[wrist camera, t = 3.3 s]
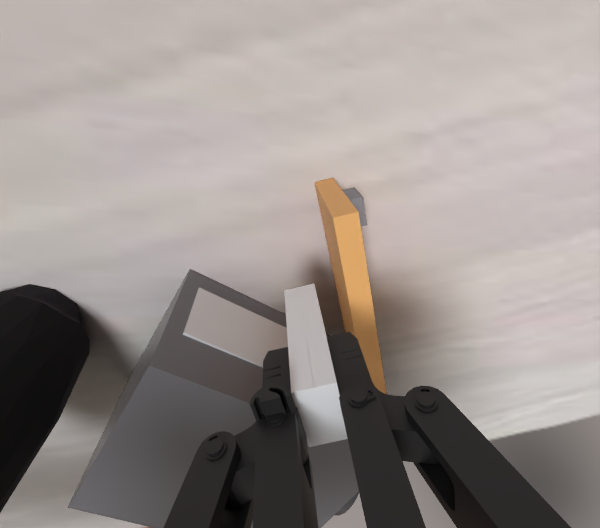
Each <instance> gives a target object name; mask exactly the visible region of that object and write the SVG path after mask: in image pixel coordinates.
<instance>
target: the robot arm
mask: <svg viewBox="0 0 600 528" xmlns="http://www.w3.org/2000/svg"><path fill="white" fill-rule="evenodd" d="M284 295H285V309H286V324H287V338H288V347H284V348H280V349H276V350H271V351H268V352H267V354H266V356H265V358H264V360H263V383H262V388H261V389H260V390H258V391H257V392H256V393H255V394H254V395H253V397H252V398H251V402H250V406H251V409H252V411H253V414H254V416H255V419H256V422H255V423H254V424H253V425H252V426H251V427H249V428H248V429H246V430H244V431H242V432H241V433H239V434H237V435H235V436H233V435H232V434H231V433H230V432H225V431H221V432H216V433H214V434H212V435H210V436H208V437H207V438H206V439H205V440H204V441H203V442H202V443H201V445H200V446H199V448H198V450H197V452H196V454H195V456H194V459H193V461H192V463H191V466H190V468H189V470H188V472H187V475H186V477H185V479H184V482H183V484H182V486H181V489H180V491H179V493H178V495H177V498H176V500H175V502H174V505H173V507H172V509H171V511H170V514H169V516H168V518H167V521H166V523H165V525H164V527H163V528H251V524H252V520H253V528H318V519H317V510H316V501H315V492H314V483H313V475H312V466H311V460H310V457H309V454H308V447H307V443H308V446H309V447H313V446H317V445H322V444H326V443H331V442H336V441H340V440H345V439H348V443H349V447H350V452H351V456H352V461H353V466H354V470H355V475H356V479H357V484H358V489H359V493H360V498H361V502H362V507H363V511H364V516H365V521H366V525H367V528H426V527H425V525H424V522H423V518H422V516H421V513H420V510H419V507H418V504H417V501H416V499H415V496H414V493H413V490H412V487H411V484H410V482H409V479H408V476H407V473H406V470H405V467H404V465H403V462H402V461H409V462H414V464H415V466H416V467H417V469H418V470H419V472H420V473H421V475H422V476H423V478H424V479H425V481H426V482H427V484H428V485H429V487H430V488H431V490H432V491H433V493H434V494H435V495H436V497H437V499H438V500H439V502H440V503H441V505H442V506H443V507H444V509H445V510H446V512H447V513H448V515H449V516H450V518H451V519H452V521H453V522H454V524H455V525H456V527H457V528H571V527H570V526H569V525H568V524H567V523H566V522H565V521H564V520H563V519H562V518H561V517H560V515H559V514H558V513H557V512H556V511H555V510H554V509H553V508H552V507H551V506H550V505H549V504H548V503H547V502H546V501H545V500H544V499H543V498H542V497H541V496H540V494H539V493H538V492H537V491H536V490H535V489H534V488H533V487H532V486H531V485H530V484H529V483H528V482H527V481H526V480H525V479H524V478H523V477H522V475H521V474H520V473H519V472H518V471H517V470H516V469H515V468H514V467H513V466H512V465H511V464H510V463H509V462H508V461H507V460H506V459H505V458H504V457H503V455H502V454H501V453H500V452H499V451H498V450H497V449H496V448H495V447H494V446H493V445H492V444H491V443H490V442H489V441H488V440H487V439H486V438H485V436H484V435H483V434H482V433H481V432H480V431H479V430H478V429H477V428H476V427H475V426H474V425H473V424H472V423H471V422H470V421H469V420H468V419H467V418H466V416H465V415H464V414H463V413H462V412H461V411H460V410H459V409H458V408H457V407H456V406H455V405H454V404H453V403H452V402H451V401H450V400H449V399H448V398H447V396H446V395H445V394H443V393H442V392H441V391H439V390H438V389H436V388H433V387H430V386H419V387H415V388H413V389H411V390H410V391H409V392H408V393H407V394H406V396H392V395H387V394H385V393H382V392H381V391H379V390H378V389H377V388H376V387H375V386H374V384H373V382H372V379H371V376H370V374H369V371H368V368H367V365H366V362H365V359H364V356H363V354H362V351H361V348H360V345H359V342H358V339H357V338H356V337H355V336H354V335H353V334H352V333H350V332H347V333H342V334H338V335H333V336H329V337H327V336H326V331H325V327H324V323H323V318H322V314H321V310H320V306H319V302H318V297H317V293H316V289H315V285H314V283H313V284H309V285H305V286H301V287H296V288H292V289H288V290H284Z"/></svg>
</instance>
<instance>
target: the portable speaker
mask: <svg viewBox="0 0 600 528" xmlns="http://www.w3.org/2000/svg"><path fill="white" fill-rule="evenodd" d="M88 354H89V339H88V337H87V335H86V332H85V329H84V326H83V323H82V320H81V317H80V313H79V310H78V307H77V304H76V303H74V302H73V301H71V300H70V299H68V298H66V297H65V296H63V295H62V294H60V293H58V292H57V291H55V290H52V289H47V288H42V287H37V286H32V285H25V286H22V287H18V288H15V289H11V290H7V291H3V292H0V512H1V511H2V509H3V507H4V506H5V504H6V503H7V501H8V499H9V498H10V496H11V495H12V493H13V491H14V490H15V488H16V487H17V485H18V483H19V482H20V480H21V479H22V477H23V475H24V474H25V472H26V471H27V469H28V467H29V466H30V464H31V463H32V461H33V460H34V458H35V456H36V455H37V453H38V452H39V450H40V448H41V447H42V445H43V444H44V442H45V440H46V439H47V437H48V436H49V434H50V432H51V431H52V429H53V428H54V426H55V424H56V423H57V421H58V420H59V418H60V416H61V414H62V411H63V409H64V407H65V405H66V403H67V400H68V398H69V396H70V394H71V392H72V389H73V387H74V385H75V383H76V381H77V378H78V376H79V374H80V372H81V370H82V367H83V365H84V363H85V361H86V359H87V356H88Z"/></svg>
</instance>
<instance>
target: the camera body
mask: <svg viewBox="0 0 600 528" xmlns="http://www.w3.org/2000/svg"><path fill="white" fill-rule="evenodd" d="M326 336H327V337H329V335H327V334H326ZM284 347H288V338H287V324H286V315H285V314H283V313H281V312H279V311H277V310H275V309H273V308H271V307H269V306H266V305H264V304H262V303H260V302H258V301H256V300H254V299H252V298H250V297H248V296H245V295H243V294H241V293H239V292H237V291H235V290H233V289H231V288H229V287H226V286H224V285H222V284H220V283H218V282H216V281H214V280H212V279H210V278H208V277H205V276H203V275H201V274H199V273H197V272H195V271H193V270H191V269H190V270H189V272H188V274H187V275H186V277H185V279H184V281H183V283H182V284H181V286H180V288H179V290H178V292H177V293H176V295H175V297H174V299H173V301H172V302H171V304H170V306H169V308H168V310H167V311H166V313H165V315H164V317H163V319H162V320H161V322H160V324H159V326H158V328H157V329H156V331H155V333H154V335H153V336H152V338H151V340H150V342H149V344H148V345H147V347H146V349H145V351H144V353H143V354H142V356H141V358H140V360H139V362H138V363H137V365H136V367H135V369H134V371H133V372H132V374H131V376H130V378H129V380H128V381H127V384H126V386H125V388H124V390H123V392H122V394H121V396H120V398H119V400H118V403H117V405H116V407H115V409H114V411H113V413H112V415H111V417H110V419H109V421H108V424H107V426H106V428H105V430H104V432H103V434H102V436H101V438H100V440H99V443H98V445H97V447H96V449H95V451H94V453H93V455H92V457H91V459H90V462H89V464H88V466H87V468H86V470H85V472H84V474H83V476H82V478H81V481H80V483H79V485H78V487H77V489H76V491H75V493H74V495H73V497H72V500H71V502H70V504H69V506H68V508H73V509H77V510H81V511H85V512H89V513H94V514H98V515H102V516H106V517H111V518H115V519H119V520H123V521H128V522H132V523H136V524H140V525H145V526H149V527H153V528H163V527H164V525H165V523H166V521H167V518H168V516H169V514H170V511H171V509H172V507H173V505H174V502H175V500H176V498H177V495H178V493H179V491H180V489H181V486H182V484H183V482H184V479H185V477H186V475H187V472H188V470H189V468H190V466H191V463H192V461H193V459H194V456H195V454H196V452H197V450H198V448H199V446H200V445H201V443H202V442H203V441H204V440H205V439H206V438H207V437H208V436H210V435H212V434H214V433H216V432H221V431H225V432H230V433H231V434H232V435H233V436H235V435H237V434H239V433H241V432H242V431H244V430H246V429H248V428H249V427H251V426H252V425H253V424H254V423H255V422H256V419H255V416H254V414H253V411H252V409H251V406H250V402H251V398H252V397H253V395H254V394H255V393H256V392H257V391H258V390H260V389H261V388H262V383H263V360H264V358H265V356H266V354H267V352H268V351H271V350H276V349H280V348H284ZM307 447H308V454H309V457H310V460H311V466H312V475H313V483H314V492H315V501H316V510H317V519H318V528H321V527H322V526H323V525H324V524H325V523H326V522H327V521H328V520H329V519H331V518H332V517H333V516H334V515H341V514H343V513H345V512H346V511H347V510H348V509H349V508H350V507H351V506H352V505H353V503H354V502H355V500H356V498H357V496H358V494H359V489H358V484H357V479H356V475H355V470H354V466H353V461H352V456H351V452H350V447H349V443H348V439H345V440H340V441H336V442H331V443H326V444H322V445H317V446H313V447H309V446H308V443H307ZM251 528H253V520H252V524H251Z"/></svg>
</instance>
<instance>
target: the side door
mask: <svg viewBox="0 0 600 528" xmlns="http://www.w3.org/2000/svg"><path fill="white" fill-rule="evenodd" d="M315 187H316V192H317V197H318V202H319V207H320V212H321V216H322V221H323V226H324V231H325V236H326V241H327V245H328V250H329V255H330V260H331V265H332V270H333V275H334V279H335V284H336V289H337V294H338V299H339V304H340V309H341V313H342V318H343V323H344V328H345V333H347V332H350V333H352V334H353V335H354V336H355V337H356V338H357V339H358V342H359V345H360V348H361V351H362V354H363V356H364V359H365V362H366V365H367V368H368V371H369V374H370V376H371V379H372V382H373V384H374V386H375V387H376V388H377V389H378V390H379V391H381V392H382V393H385V394H387V392H386V386H385V379H384V373H383V366H382V360H381V354H380V347H379V341H378V334H377V328H376V321H375V315H374V309H373V302H372V296H371V289H370V283H369V276H368V270H367V263H366V257H365V251H364V244H363V238H362V231H361V226H365V225H367V222H366V215H365V208H364V201H363V197H362V195H361V194H360V193H359V192H358V191H357V190H356V189H355V188H351V189H346V190H342V189H341V188H340V187H339V185H338V184H337V183H336V181H335V180H334V179H333V178H330V179H326V180H322V181H318V182H315Z"/></svg>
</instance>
